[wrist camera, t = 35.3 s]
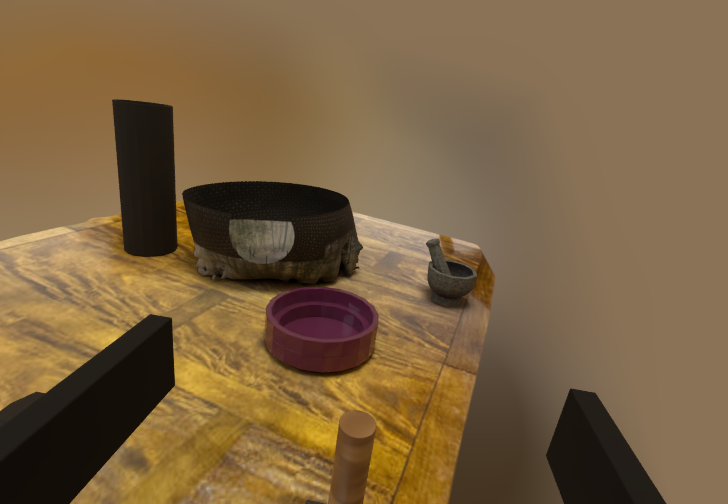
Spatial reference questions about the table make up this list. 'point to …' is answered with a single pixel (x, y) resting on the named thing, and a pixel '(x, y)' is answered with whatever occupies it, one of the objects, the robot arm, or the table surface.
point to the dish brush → (351, 458)
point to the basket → (271, 231)
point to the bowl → (320, 328)
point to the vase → (146, 176)
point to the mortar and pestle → (448, 277)
